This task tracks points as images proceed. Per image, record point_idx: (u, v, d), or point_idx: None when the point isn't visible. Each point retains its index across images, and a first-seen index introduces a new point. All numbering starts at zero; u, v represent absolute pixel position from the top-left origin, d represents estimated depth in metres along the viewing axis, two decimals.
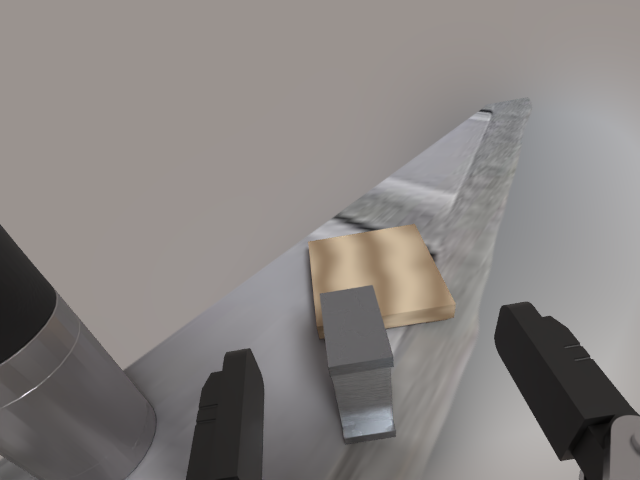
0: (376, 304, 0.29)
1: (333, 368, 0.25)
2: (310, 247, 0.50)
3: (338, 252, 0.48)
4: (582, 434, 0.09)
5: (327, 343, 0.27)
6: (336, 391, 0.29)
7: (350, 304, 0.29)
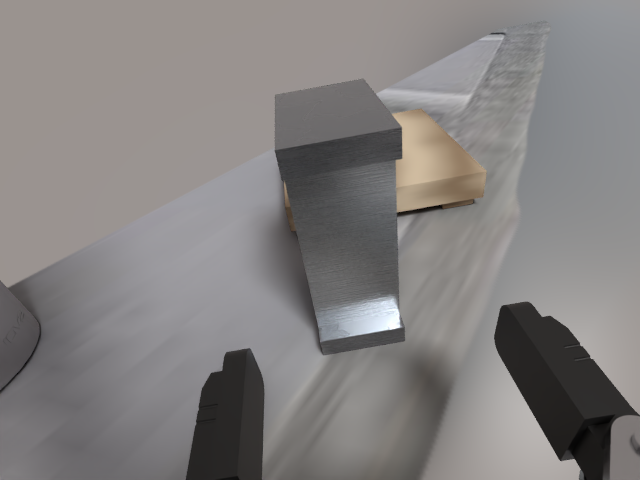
0: (369, 90, 0.17)
1: (286, 155, 0.13)
2: None
3: None
4: (582, 434, 0.09)
5: (277, 130, 0.14)
6: (301, 243, 0.17)
7: (324, 96, 0.17)
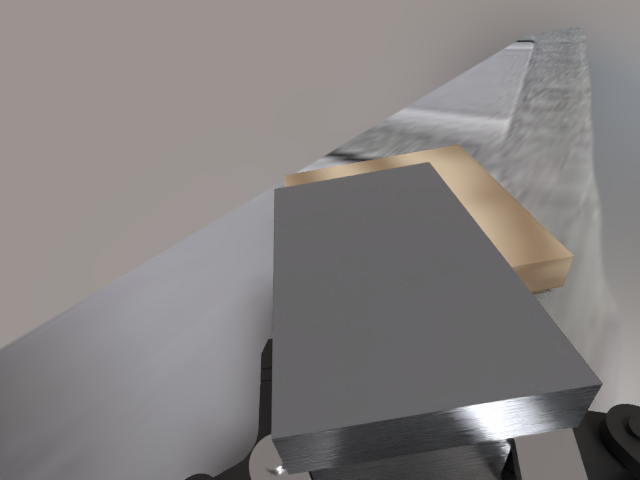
0: (453, 201, 0.09)
1: (300, 443, 0.05)
2: (287, 182, 0.30)
3: None
4: None
5: (279, 325, 0.06)
6: None
7: (367, 206, 0.09)
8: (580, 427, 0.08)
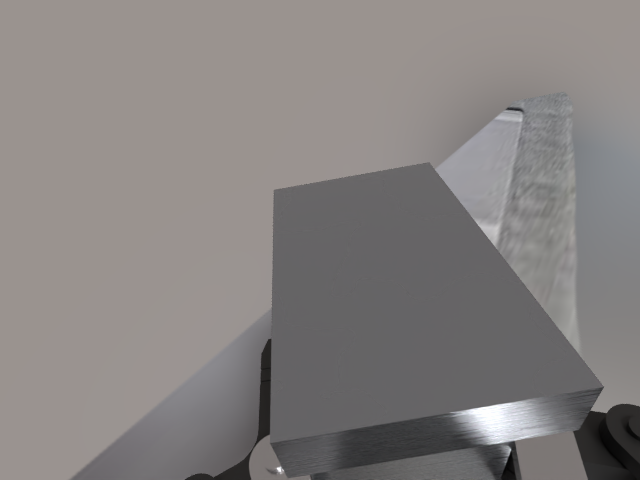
0: (453, 201, 0.09)
1: (299, 447, 0.05)
2: None
3: None
4: None
5: (277, 328, 0.06)
6: None
7: (366, 207, 0.09)
8: (580, 427, 0.08)
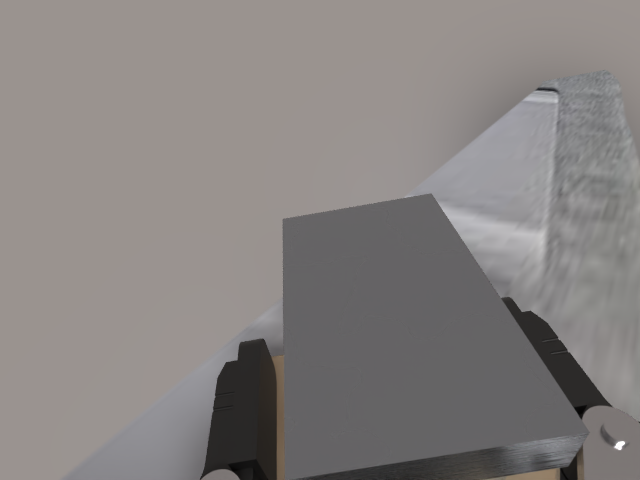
0: (454, 237, 0.09)
1: None
2: None
3: None
4: None
5: (289, 365, 0.07)
6: None
7: (371, 240, 0.10)
8: None
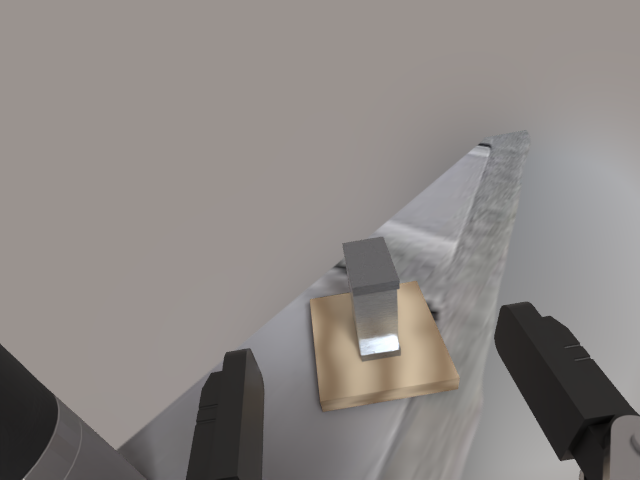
0: (386, 248, 0.39)
1: (356, 289, 0.35)
2: (312, 306, 0.50)
3: (340, 313, 0.48)
4: (582, 434, 0.09)
5: (350, 274, 0.36)
6: (356, 314, 0.39)
7: (366, 249, 0.39)
8: None
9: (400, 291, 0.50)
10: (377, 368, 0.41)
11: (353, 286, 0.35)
